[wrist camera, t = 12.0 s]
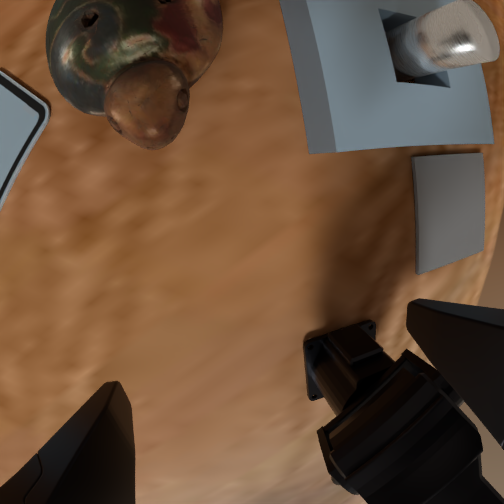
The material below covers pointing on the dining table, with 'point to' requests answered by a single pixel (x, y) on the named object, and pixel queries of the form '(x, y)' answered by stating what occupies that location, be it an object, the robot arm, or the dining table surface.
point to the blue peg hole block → (376, 80)
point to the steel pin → (443, 41)
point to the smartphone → (17, 129)
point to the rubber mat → (448, 208)
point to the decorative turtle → (133, 60)
